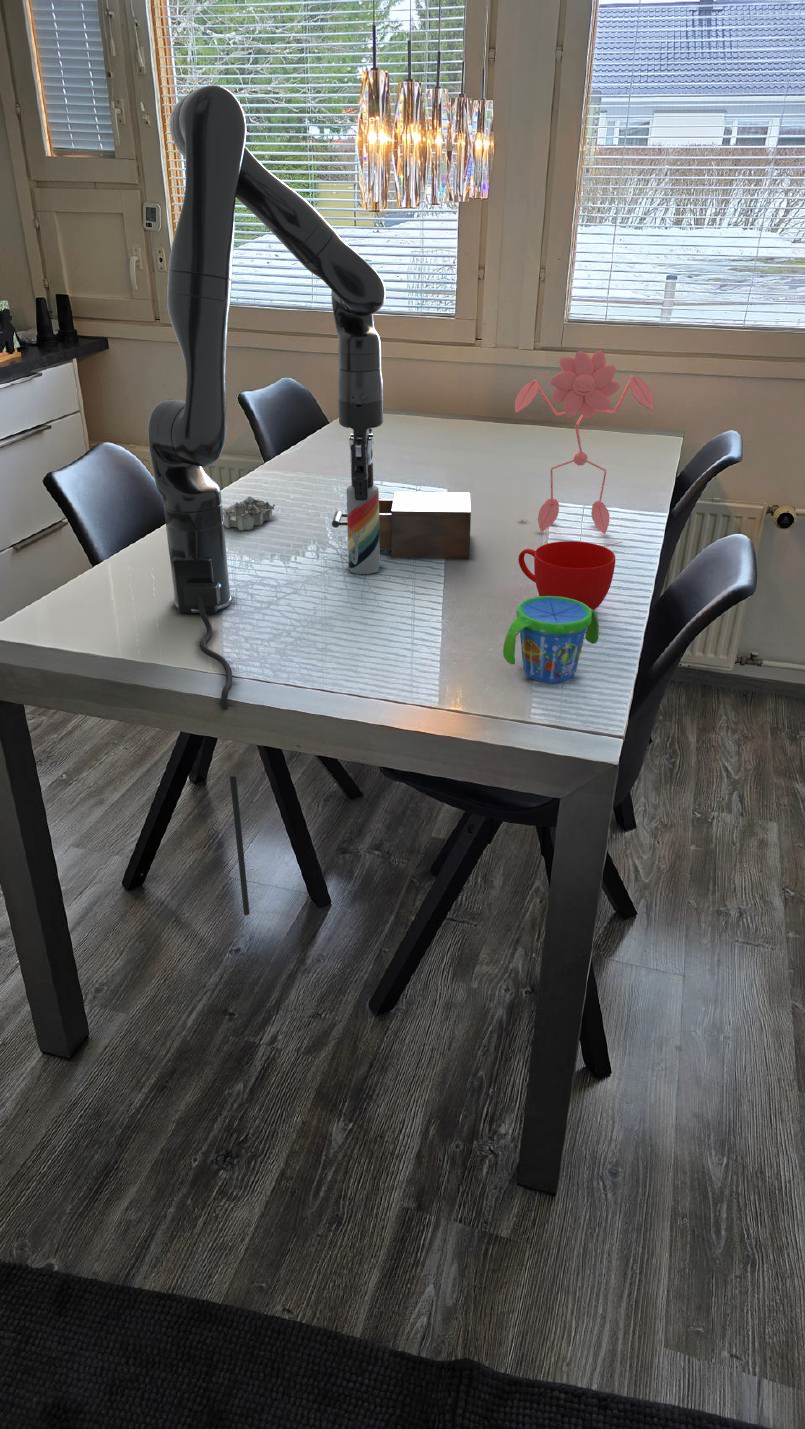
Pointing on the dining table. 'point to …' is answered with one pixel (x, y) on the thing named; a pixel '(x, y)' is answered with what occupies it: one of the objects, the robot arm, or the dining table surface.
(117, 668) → the dining table surface
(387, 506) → the drawer
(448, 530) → the cabinet
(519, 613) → the snack cup
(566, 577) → the ceramic cup
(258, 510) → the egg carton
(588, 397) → the figurine
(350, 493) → the lotion bottle
